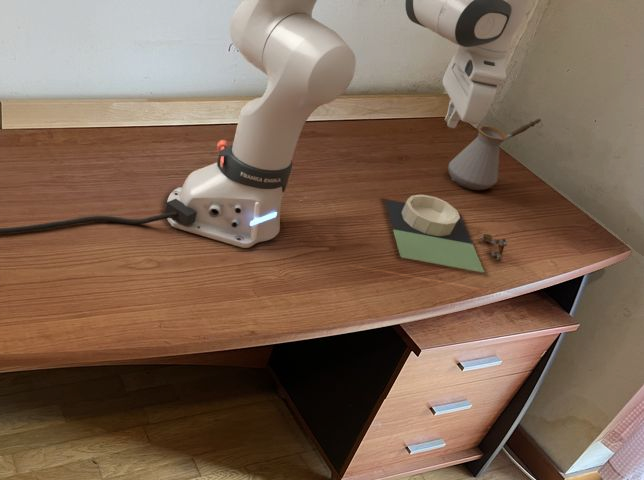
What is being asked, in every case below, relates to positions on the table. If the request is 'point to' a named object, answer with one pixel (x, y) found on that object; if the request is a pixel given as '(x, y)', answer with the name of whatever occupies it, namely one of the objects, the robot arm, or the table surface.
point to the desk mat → (433, 243)
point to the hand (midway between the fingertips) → (449, 124)
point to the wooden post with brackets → (496, 241)
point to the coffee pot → (482, 158)
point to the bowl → (430, 215)
